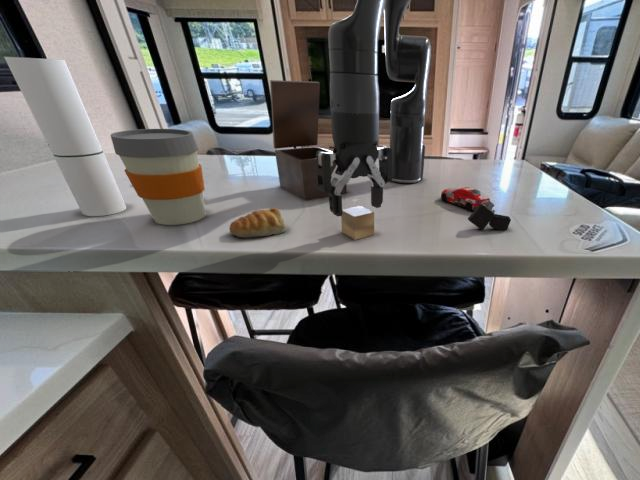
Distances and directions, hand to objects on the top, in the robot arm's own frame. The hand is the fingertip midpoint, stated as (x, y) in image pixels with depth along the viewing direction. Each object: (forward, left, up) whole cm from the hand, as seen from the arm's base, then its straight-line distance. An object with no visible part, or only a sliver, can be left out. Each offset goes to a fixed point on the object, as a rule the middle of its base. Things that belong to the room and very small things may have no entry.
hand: (357, 210), depth 61 cm
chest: (-7, -30, -5) cm, 31 cm away
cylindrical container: (+35, -39, -5) cm, 53 cm away
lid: (-7, -35, +12) cm, 37 cm away
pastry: (+14, -11, -5) cm, 18 cm away
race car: (-31, 0, -5) cm, 31 cm away
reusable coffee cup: (+24, -27, -5) cm, 37 cm away
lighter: (-23, +13, -5) cm, 27 cm away
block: (0, 0, -5) cm, 5 cm away
